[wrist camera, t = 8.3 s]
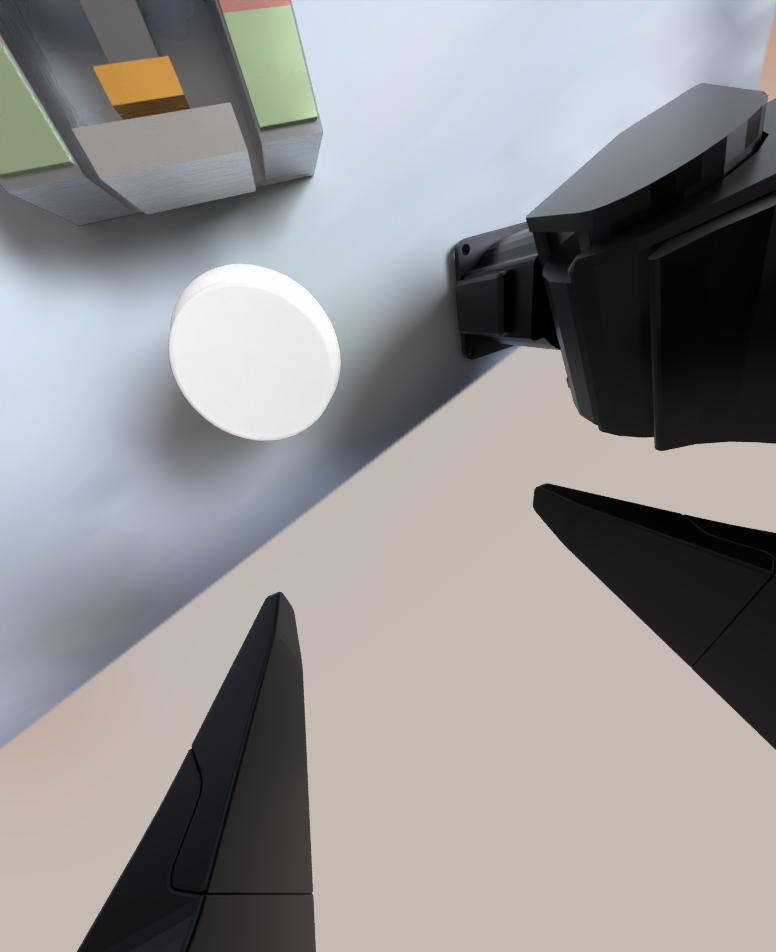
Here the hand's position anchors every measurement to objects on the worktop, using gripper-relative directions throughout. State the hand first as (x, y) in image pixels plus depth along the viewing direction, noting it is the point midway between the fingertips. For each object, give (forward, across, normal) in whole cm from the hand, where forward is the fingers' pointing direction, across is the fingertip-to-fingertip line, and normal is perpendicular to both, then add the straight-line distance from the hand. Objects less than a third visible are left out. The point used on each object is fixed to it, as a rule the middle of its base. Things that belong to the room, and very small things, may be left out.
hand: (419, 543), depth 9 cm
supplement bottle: (+12, +3, -6) cm, 14 cm away
